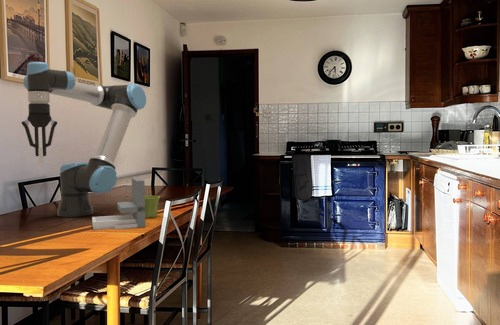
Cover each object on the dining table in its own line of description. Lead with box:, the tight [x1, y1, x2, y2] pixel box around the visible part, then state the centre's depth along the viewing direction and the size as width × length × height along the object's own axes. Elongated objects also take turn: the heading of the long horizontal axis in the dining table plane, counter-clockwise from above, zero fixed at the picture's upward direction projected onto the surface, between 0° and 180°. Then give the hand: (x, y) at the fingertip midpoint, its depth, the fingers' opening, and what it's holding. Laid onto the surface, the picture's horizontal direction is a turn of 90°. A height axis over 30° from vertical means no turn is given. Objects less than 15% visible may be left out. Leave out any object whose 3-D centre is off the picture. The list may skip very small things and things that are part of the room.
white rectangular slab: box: [91, 214, 137, 231], centre depth 195 cm, size 12×16×3 cm
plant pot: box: [145, 195, 161, 219], centre depth 214 cm, size 9×9×9 cm
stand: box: [113, 176, 147, 230], centre depth 196 cm, size 16×12×18 cm
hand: (41, 164), depth 191 cm, fingers closed
